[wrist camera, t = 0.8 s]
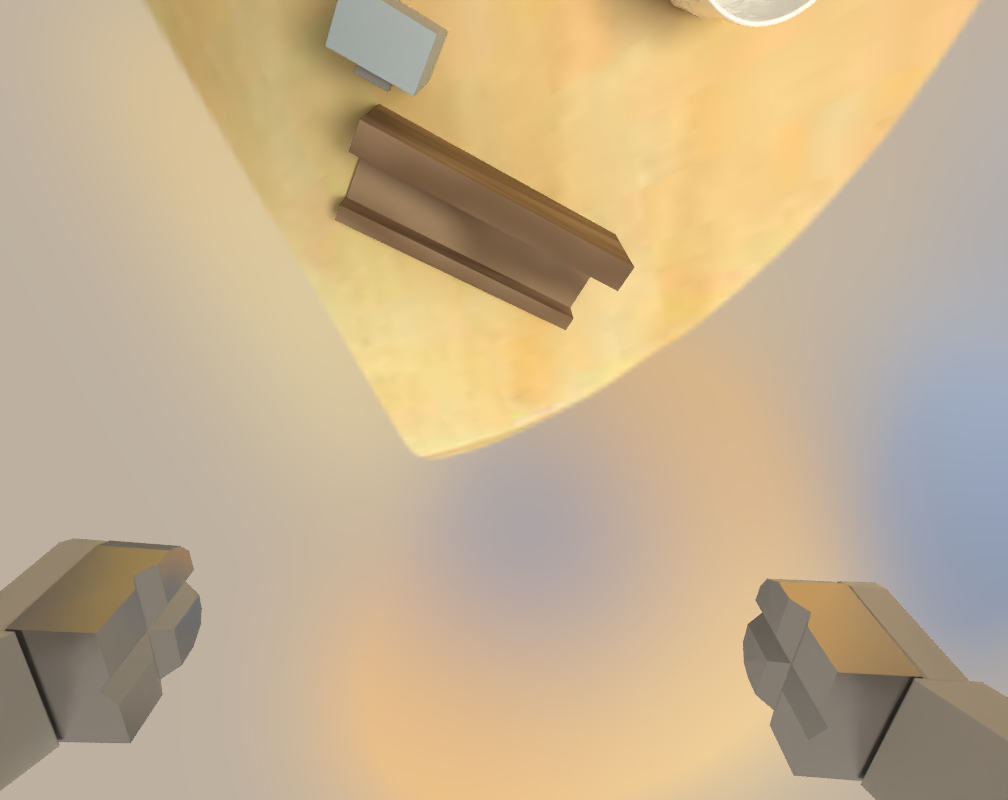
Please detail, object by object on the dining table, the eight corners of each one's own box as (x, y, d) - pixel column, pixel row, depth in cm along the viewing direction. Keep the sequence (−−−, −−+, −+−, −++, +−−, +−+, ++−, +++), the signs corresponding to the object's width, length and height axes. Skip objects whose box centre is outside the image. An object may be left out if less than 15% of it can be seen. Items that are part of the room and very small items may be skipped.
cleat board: (379, 104, 38) (359, 119, 32) (615, 234, 44) (634, 267, 38) (342, 210, 42) (319, 240, 36) (562, 316, 48) (572, 357, 42)
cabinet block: (376, -14, 34) (344, -23, 27) (448, 31, 36) (436, 34, 28) (355, 51, 36) (321, 59, 29) (424, 91, 38) (408, 108, 30)
